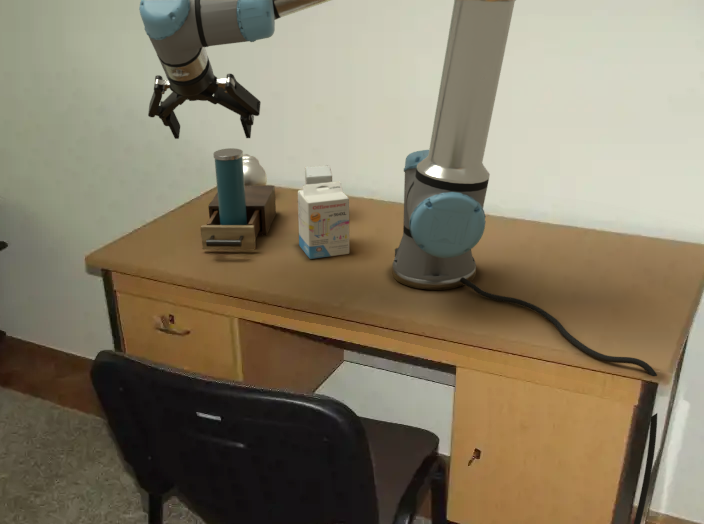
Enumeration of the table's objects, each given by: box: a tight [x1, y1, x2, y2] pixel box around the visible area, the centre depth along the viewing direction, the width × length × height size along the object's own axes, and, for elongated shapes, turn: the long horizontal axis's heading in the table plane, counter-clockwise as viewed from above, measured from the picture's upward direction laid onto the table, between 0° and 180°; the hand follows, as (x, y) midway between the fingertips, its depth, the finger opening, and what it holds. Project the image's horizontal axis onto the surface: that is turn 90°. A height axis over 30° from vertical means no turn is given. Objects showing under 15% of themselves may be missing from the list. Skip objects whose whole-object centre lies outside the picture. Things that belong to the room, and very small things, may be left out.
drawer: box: [200, 209, 262, 251], centre depth 182 cm, size 17×11×5 cm, turn 170°
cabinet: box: [207, 185, 277, 237], centre depth 192 cm, size 14×12×7 cm
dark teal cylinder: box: [213, 147, 247, 225], centre depth 180 cm, size 6×6×17 cm
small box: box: [304, 164, 333, 188], centre depth 192 cm, size 8×6×10 cm
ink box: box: [297, 180, 350, 260], centre depth 175 cm, size 9×8×13 cm
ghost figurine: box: [242, 153, 268, 186], centre depth 208 cm, size 9×10×10 cm
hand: (213, 132), depth 163 cm, fingers open, 13 cm apart
